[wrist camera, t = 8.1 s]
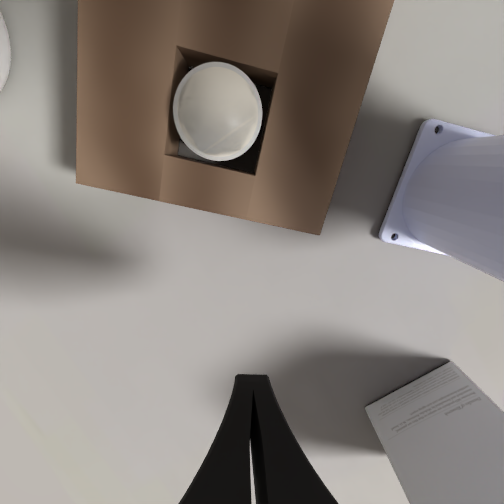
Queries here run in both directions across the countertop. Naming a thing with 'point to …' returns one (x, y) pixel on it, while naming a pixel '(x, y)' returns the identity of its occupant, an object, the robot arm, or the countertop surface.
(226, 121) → the outer knob
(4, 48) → the pill bottle
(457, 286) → the countertop surface
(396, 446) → the supplement box
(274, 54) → the knob board
